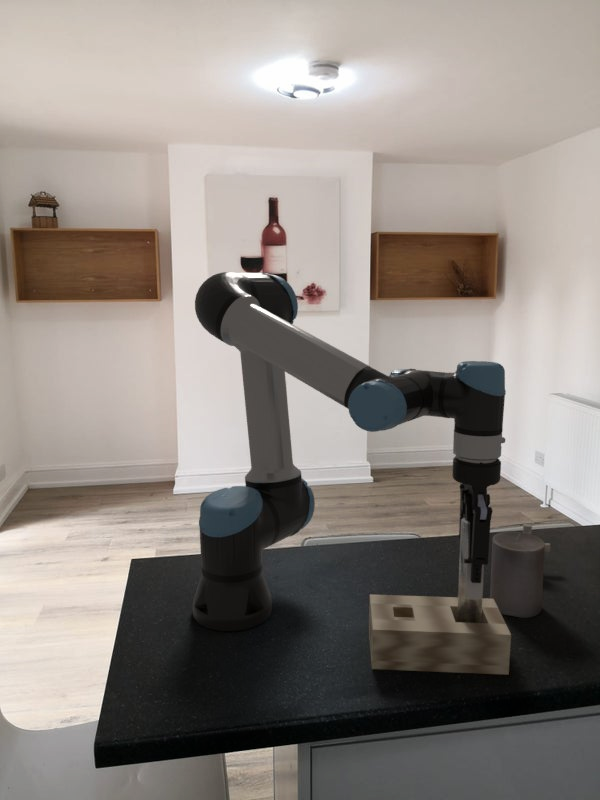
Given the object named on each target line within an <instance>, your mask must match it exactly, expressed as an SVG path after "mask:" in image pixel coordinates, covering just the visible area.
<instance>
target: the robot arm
mask: <svg viewBox="0 0 600 800" xmlns="http://www.w3.org/2000/svg"><path fill="white" fill-rule="evenodd" d="M298 304H299V303H298V299H297V295H296V293H295V291H294V289H293V286H291V284H290V283H289V282H287V280H285V279H284V278H283V277H282V276H278V275H275V274H269V273H266V272H231V271H230V272H229V271H228V272H227V271H223V272H219V273H215V274H214V275H212V276H209V277H208V278H207V279H206V280H205V281H203V283H201V285H200V286H199V287H198V290H197V291H196V295H195V299H194V309H195V314H196V318H197V319H198V321H199V323H200V325H201V327H202V328H203V329H204V330H206V332H208V333H209V334H210V335H211V336H213V337H215V338H216V339H218V340H219V341H220V342H223V343H225V344H226V345H228V346H231V347H234V348H236V349H237V350H238V351H239V353H240V354H239V355H240V362H241V372H242V373H241V374H242V385H243V395H244V403H245V404H244V405H245V414H246V415H245V416H246V426H247V436H248V447H249V455H250V456H249V457H250V466H251V467H250V470H249V471H248V472H247V473H246V474H245V476H244V483H245V486H243V485H242V486H241V485H235V486H231V487H229V488H228V487H224V488H221V489H218V490H214V491H213V492H211V493H210V494H208V495H206V497H205V498H204V499H203V500H202V502H201V505H200V508H199V511H200V512H199V519H198V527H199V544H200V545H199V547H200V573H201V575H200V579H199V580H198V581H199V582H198V584H197V588H196V592H195V594H194V597H193V599H192V600H193V601H192V616H193V619H194V620H195V621H196V623H198V624H199V625H200V626H202V627H204V628H206V629H210V630H214V631H220V632H237V631H239V632H240V631H244V630H248V629H253V628H254V627H258V626H260V625H261V624H262V623H264V622H266V621H267V620H268V619H269V618H270V617H271V615H272V612H273V609H272V608H273V607H272V606H273V605H272V604H273V603H272V602H273V600H272V595H271V592H270V589H269V587H268V585H267V581H266V579H265V575H264V572H263V550H265V549H267V548H269V547H271V546H273V545H275V544H277V543H278V542H280V541H283V540H285V539H287V538H289V537H293V536H294V535H296V534H298V533H299V532H300V531H301V530H303V529H304V528H305V527H307V526H308V525H309V523H310V522H311V520H312V517H313V515H314V513H315V506H316V505H315V502H316V501H315V496H314V492H313V490H312V488H311V487H310V486H309V485H308V482H307V481H306V480H305V479H304V478H303V476H302V471H301V470H300V469H299V468H298V467H297V466H296V465H295V464H294V461H293V449H292V447H293V446H292V439H291V437H292V436H291V427H290V416H289V405H288V404H289V403H288V394H287V393H288V392H287V381H286V373H287V374H288V375H290V376H292V377H294V378H295V379H296V380H299V381H300V382H302V383H304V384H305V385H307V386H308V387H310V388H312V389H314V390H315V391H318V392H319V393H320V394H323V396H326V397H327V398H329V399H331V400H332V401H334V402H336V403H338V404H339V405H341V406H343V407H344V408H346V409H347V410H348V413H349V415H350V418H351V419H352V421H353V422H354V424H355V425H356V426H357V427H358V428H360V429H361V430H363V431H367V432H370V433H374V432H375V433H377V432H380V431H382V432H383V431H386V430H390V429H394V428H395V427H397V426H399V425H402V424H405V423H407V422H410V421H414V420H417V419H419V418H422V417H424V416H425V417H435V418H444V419H445V418H446V419H454V427H453V442H452V443H453V447H452V450H453V451H452V453H453V455H455V456H454V457H453V458H452V478H453V480H454V481H456V482H458V483H459V484H460V485H459V490H460V491H459V493H460V499H459V500H460V501H459V523H458V524H459V526H458V527H459V528H458V529H459V530H458V539H459V540H460V536H461V519H463V518H466V519H467V520H468V522H469V531H468V559H464V563H466V581H465V599H472V600H482V596H484V579H483V577H484V575H485V566H486V565H487V566H488V564H489V553H490V533H491V521H492V515H493V508H492V507H491V506H490V505H491V496H490V493H488V487H490V486H495V485H497V484H498V483H499V482H500V481H501V472H502V471H501V469H502V468H501V467H502V462H501V460H500V459H499V458H500V457H501V456H502V444H505V443H506V438H505V437H504V436H503V431H504V430H503V429H504V428H503V427H504V426H503V424H504V412H505V411H504V409H505V398H506V393H507V391H506V378H505V377H506V372H505V368H504V366H503V365H502V364H501V363H499V362H494V361H482V360H480V361H478V360H477V361H476V360H466V361H461V362H458V363H457V366H456V370H455V372H444V371H433V370H423V369H422V370H421V369H420V370H419V369H417V368H416V369H415V368H407V369H405V368H404V369H403V368H397V369H394V370H392V371H391V372H390V374H389V375H387V374H385V373H383V372H380V371H379V370H377V369H375V368H373V367H371V366H370V365H368V364H366V363H364V362H363V361H360V360H359V359H357V358H355V357H354V356H352V355H349V354H348V353H346V352H344V351H343V350H340V349H339V348H337V347H335V346H333V345H331V344H330V343H328V342H326V341H324V340H322V339H320V338H318V337H316V336H314V335H313V334H311V333H310V332H307V331H306V330H304V329H302V328H300V327H299V326H296V325H294V322H295V319H297V316H298V312H299V310H298V309H299V305H298Z"/></svg>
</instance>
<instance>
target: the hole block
mask: <svg viewBox="0 0 600 800" xmlns="http://www.w3.org/2000/svg"><path fill="white" fill-rule="evenodd" d="M368 605H369V609H368V610H369V611H368V635H369V637H368V638H369V647H370V648H369V650H370V661H371V662H370V663H371V670H385V671H386V670H388V671H389V670H390V671H408V672H409V671H410V672H411V671H413V672H414V671H415V672H434V673H435V672H436V673H437V672H439V673H456V674H457V673H459V674H460V673H461V674H464V673H465V674H485V675H505V676H506V675H509V672H510V659H511V658H510V657H511V645H512V644H511V643H512V640H511V639H512V634H511V631H510V629H509V627H508V625H507V624H506V621H505V619H504V618H503V614H501V613H500V611H499V609H498V607H497V605H496V603H495V601H494V599H490V597H489V598H488V597H487V598H483V599H482V620H481V623H464V622H457V608H458V596H455V597H454V596H430V595H429V596H426V595H422V596H421V595H402V594H401V595H398V594H395V595H394V594H369V604H368Z"/></svg>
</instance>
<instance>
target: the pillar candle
mask: <svg viewBox="0 0 600 800" xmlns="http://www.w3.org/2000/svg"><path fill="white" fill-rule="evenodd" d="M491 547H492V548H491V549H492V550H491V567H490V568H491V569H490V591H489V598H490V599H494V601H495V603H496V605H497V607H498V609H499V611H500V613H501V615H504V616H509V617H514V618H515V617H517V618H521V619H522V618H523V619H528V618H532V617H535V616H538V615H539V614H540V613H541V611H542V610H543V609H542V608H543V585H544V566H545V552H544V551H545V542H544V540H543V539H542V538H541V537H538V536H536V535H534V534H528V533H523V531H513V530H511V531H510V530H509V531H502V532H498V533H496V534H494V535H493V536H492V546H491Z"/></svg>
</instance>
